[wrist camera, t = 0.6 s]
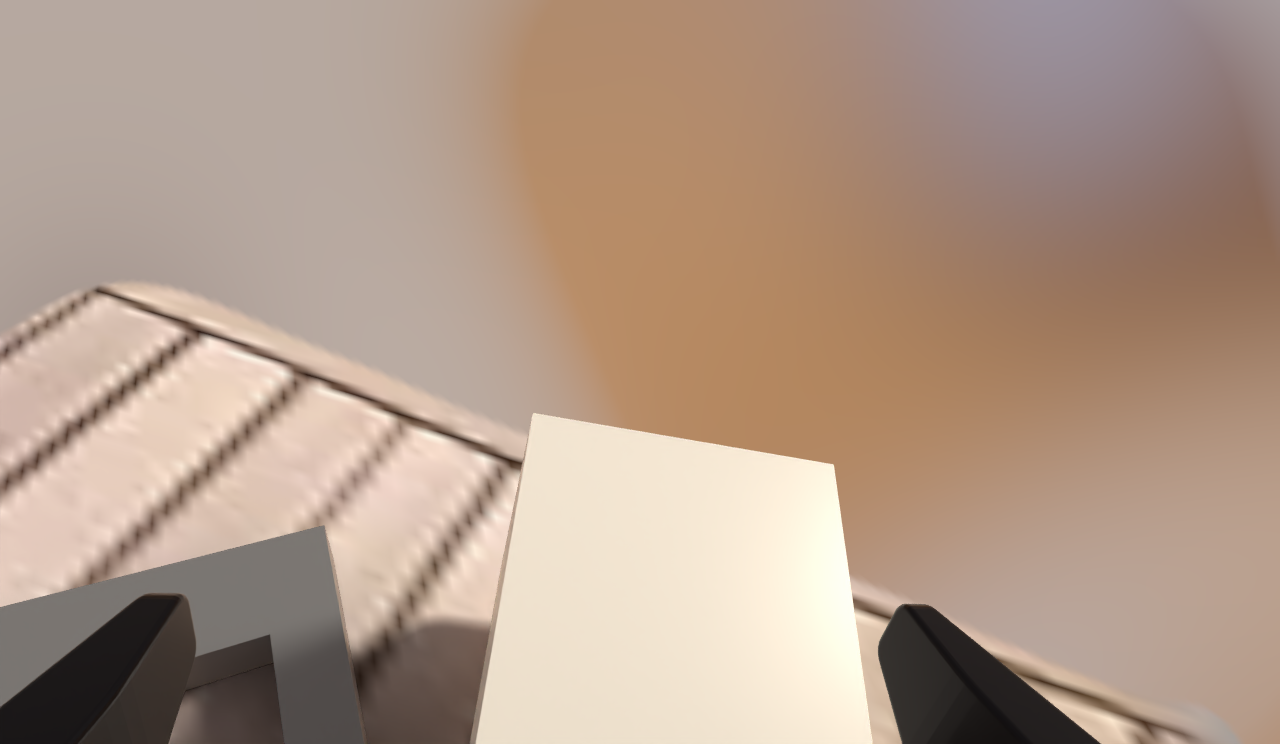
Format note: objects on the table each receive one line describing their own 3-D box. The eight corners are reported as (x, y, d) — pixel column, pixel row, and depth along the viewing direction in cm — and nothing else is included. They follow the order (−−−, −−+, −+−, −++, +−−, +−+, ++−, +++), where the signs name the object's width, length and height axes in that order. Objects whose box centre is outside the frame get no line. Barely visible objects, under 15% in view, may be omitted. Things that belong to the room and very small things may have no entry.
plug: (693, 856, 21) (883, 822, 12) (451, 838, 20) (468, 785, 11) (693, 618, 25) (833, 464, 16) (495, 592, 24) (533, 412, 15)
